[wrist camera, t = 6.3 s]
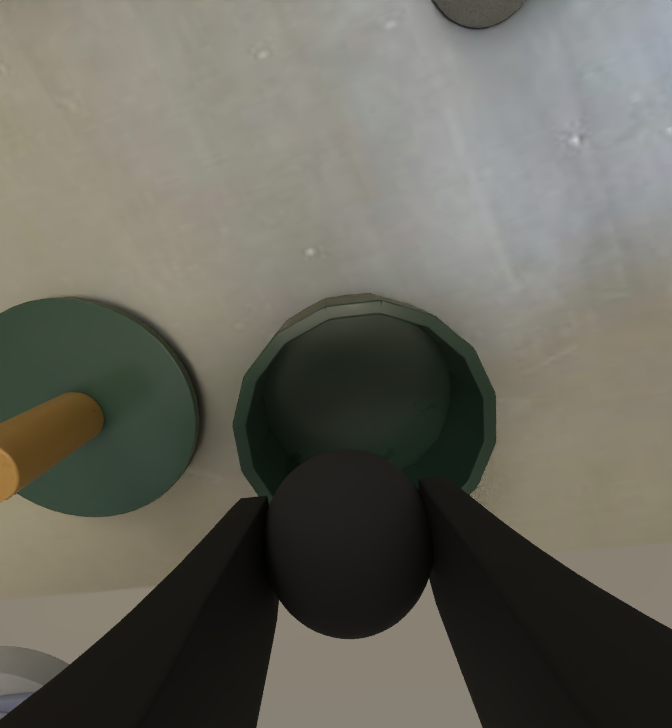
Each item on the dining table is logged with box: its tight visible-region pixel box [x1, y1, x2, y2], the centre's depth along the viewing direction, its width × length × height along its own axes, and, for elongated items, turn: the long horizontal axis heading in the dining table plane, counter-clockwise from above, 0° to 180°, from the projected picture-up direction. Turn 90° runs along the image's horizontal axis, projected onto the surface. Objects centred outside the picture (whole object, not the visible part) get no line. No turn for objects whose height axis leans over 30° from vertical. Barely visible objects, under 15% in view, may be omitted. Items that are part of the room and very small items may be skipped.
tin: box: [233, 293, 496, 506], centre depth 16 cm, size 10×10×4 cm
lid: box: [0, 297, 199, 517], centre depth 15 cm, size 11×11×6 cm
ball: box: [264, 449, 433, 639], centre depth 8 cm, size 4×4×4 cm
